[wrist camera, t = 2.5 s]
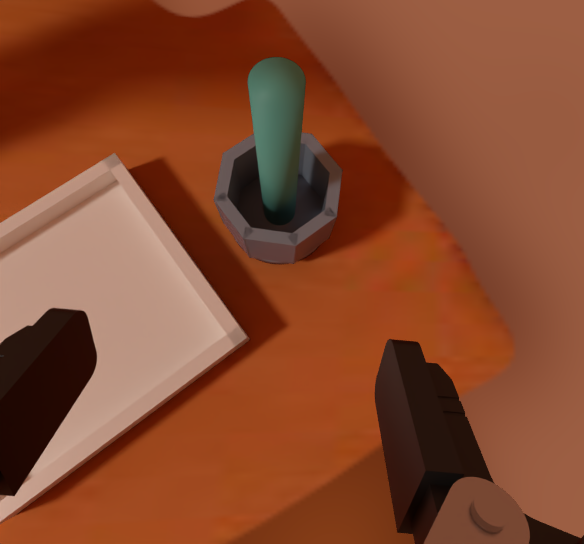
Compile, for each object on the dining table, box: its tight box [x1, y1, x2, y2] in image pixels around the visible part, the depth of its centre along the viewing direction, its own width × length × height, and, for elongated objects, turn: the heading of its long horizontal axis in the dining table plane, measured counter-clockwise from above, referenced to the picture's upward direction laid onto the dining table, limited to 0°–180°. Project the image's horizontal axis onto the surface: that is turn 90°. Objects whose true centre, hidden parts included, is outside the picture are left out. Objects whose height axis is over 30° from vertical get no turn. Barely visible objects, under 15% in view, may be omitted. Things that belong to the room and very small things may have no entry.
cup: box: [214, 133, 343, 264], centre depth 28 cm, size 8×8×6 cm
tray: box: [0, 153, 250, 524], centre depth 27 cm, size 17×19×2 cm
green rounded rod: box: [248, 57, 306, 226], centre depth 23 cm, size 2×2×14 cm
